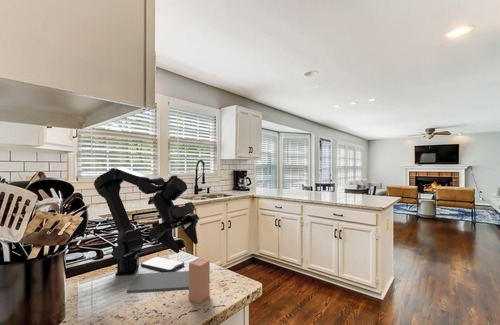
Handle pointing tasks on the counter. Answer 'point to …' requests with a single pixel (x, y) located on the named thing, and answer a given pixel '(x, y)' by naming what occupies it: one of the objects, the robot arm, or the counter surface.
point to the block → (199, 280)
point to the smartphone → (162, 264)
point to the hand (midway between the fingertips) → (188, 247)
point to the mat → (160, 281)
